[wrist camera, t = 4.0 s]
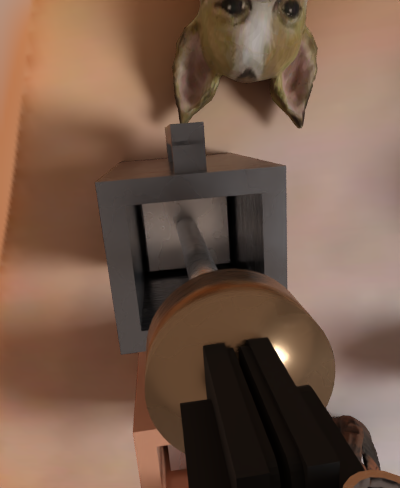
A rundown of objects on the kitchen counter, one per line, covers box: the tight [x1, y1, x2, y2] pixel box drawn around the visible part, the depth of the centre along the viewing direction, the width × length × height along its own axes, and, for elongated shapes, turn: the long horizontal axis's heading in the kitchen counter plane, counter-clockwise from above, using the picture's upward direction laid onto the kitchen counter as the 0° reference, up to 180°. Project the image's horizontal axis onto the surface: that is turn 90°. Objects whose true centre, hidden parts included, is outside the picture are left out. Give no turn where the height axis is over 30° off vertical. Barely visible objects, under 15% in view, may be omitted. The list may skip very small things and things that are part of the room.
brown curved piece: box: [332, 415, 381, 471], centre depth 39 cm, size 12×10×8 cm
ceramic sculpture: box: [172, 0, 317, 128], centre depth 25 cm, size 11×9×15 cm
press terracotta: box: [133, 351, 189, 488], centre depth 30 cm, size 11×9×14 cm
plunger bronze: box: [142, 196, 335, 453], centre depth 19 cm, size 6×6×18 cm
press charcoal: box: [95, 122, 287, 355], centre depth 25 cm, size 11×9×14 cm
